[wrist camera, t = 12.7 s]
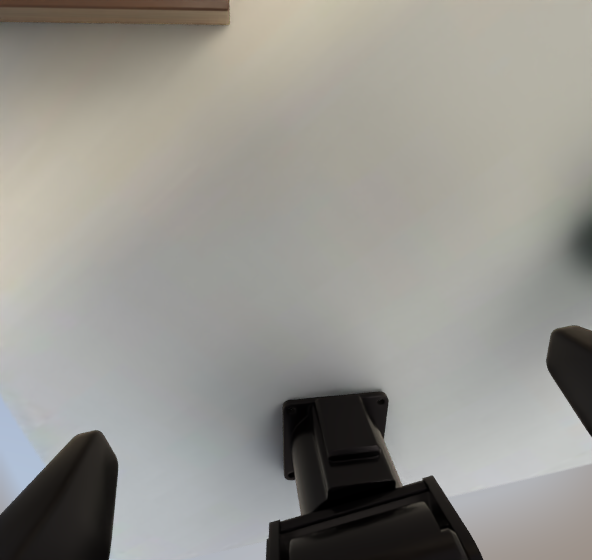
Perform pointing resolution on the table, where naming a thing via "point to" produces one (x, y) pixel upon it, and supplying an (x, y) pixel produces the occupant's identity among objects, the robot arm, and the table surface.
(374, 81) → the table surface
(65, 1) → the walnut block
